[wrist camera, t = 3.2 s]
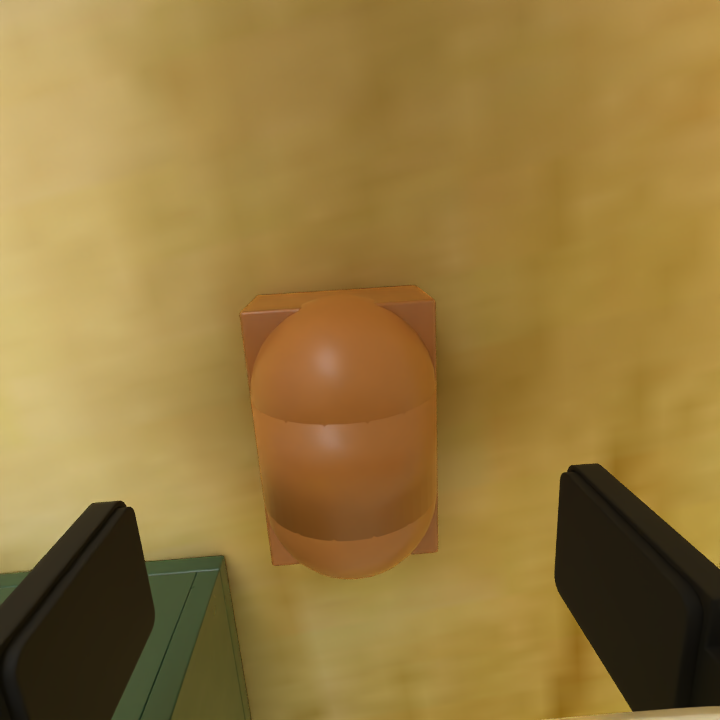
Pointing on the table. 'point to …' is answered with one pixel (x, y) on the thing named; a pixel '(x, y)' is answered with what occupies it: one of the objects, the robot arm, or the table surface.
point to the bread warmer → (183, 646)
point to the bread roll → (345, 425)
